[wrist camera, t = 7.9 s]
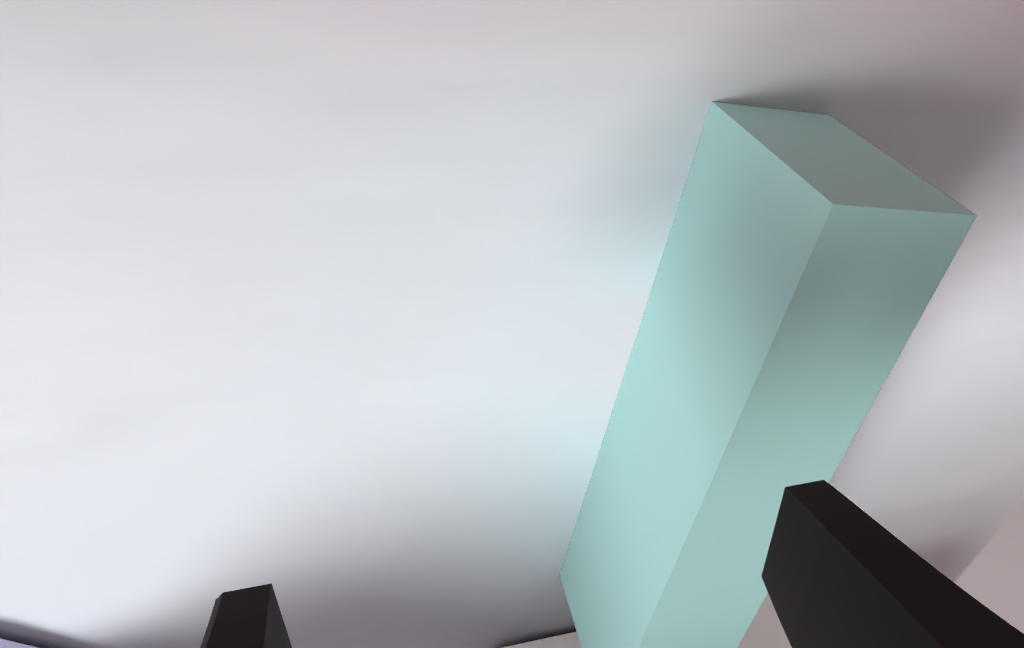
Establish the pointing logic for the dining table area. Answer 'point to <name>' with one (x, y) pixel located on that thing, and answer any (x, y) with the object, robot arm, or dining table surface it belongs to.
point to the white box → (760, 644)
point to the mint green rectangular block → (749, 368)
